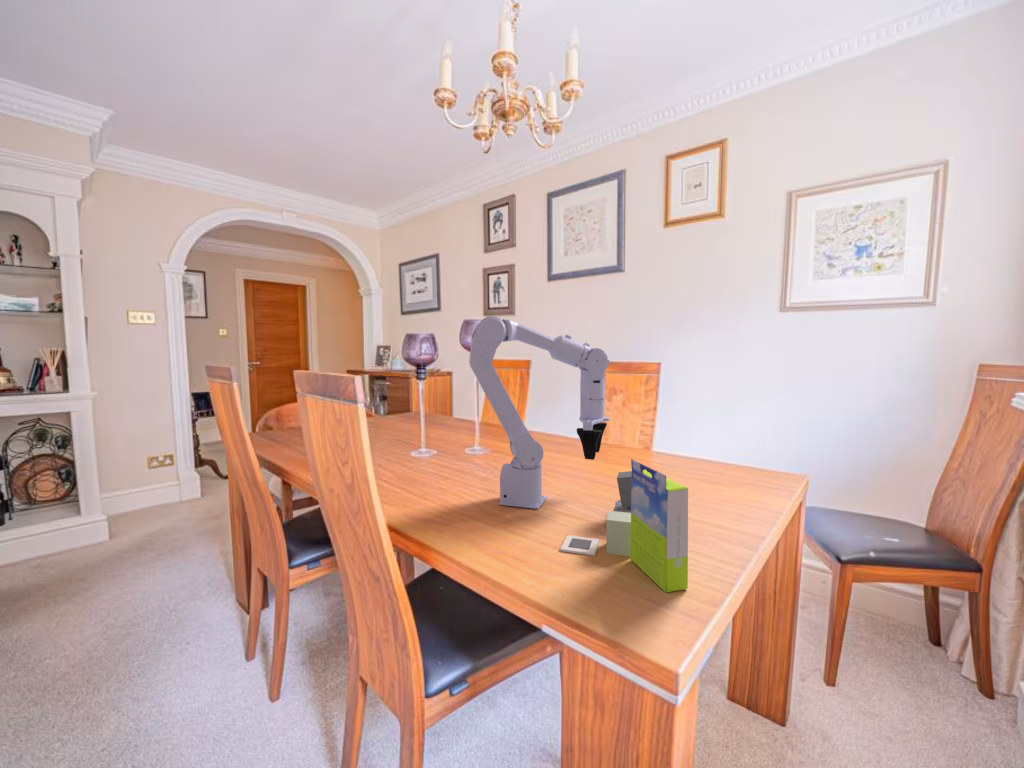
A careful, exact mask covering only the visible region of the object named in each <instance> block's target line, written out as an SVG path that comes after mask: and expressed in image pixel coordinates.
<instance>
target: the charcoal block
mask: <svg viewBox="0 0 1024 768" xmlns="http://www.w3.org/2000/svg"><path fill="white" fill-rule="evenodd" d="M616 481H617V487H618V493H619V500H621V505H622V507H630V506H631V487H632V470H630V471H621V472H619V471H618V474H617V475H616Z"/></svg>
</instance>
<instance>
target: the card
mask: <svg viewBox="0 0 1024 768" xmlns="http://www.w3.org/2000/svg"><path fill="white" fill-rule="evenodd" d="M599 544H600V539H599V538H594V537H593V538H592V537H584V536H577V535H570V534H569V535H566V537H565V539H564V541H563V542H562V544H561V547H560V550H559V551H560V552H564V553H572V554H576V555H577V554H579V555H584V556H585V555H586V556H593V557H595V556H596V553H597V551H598V550H597V549H598V547H599Z"/></svg>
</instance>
